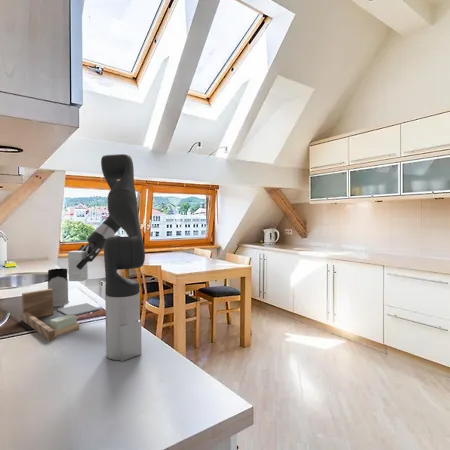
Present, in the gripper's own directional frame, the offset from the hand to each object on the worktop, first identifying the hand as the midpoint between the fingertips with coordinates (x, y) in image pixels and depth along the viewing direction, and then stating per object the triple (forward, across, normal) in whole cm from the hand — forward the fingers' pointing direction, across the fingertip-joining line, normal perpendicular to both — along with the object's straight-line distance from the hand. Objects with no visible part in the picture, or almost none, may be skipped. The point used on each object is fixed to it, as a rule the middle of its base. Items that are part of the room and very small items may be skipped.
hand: (74, 267), depth 128 cm
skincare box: (+3, 0, +5) cm, 6 cm away
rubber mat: (+12, 0, +14) cm, 18 cm away
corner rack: (+22, +11, +4) cm, 25 cm away
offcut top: (+20, +20, +3) cm, 28 cm away
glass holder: (+13, -19, +13) cm, 26 cm away
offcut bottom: (+21, +20, +5) cm, 29 cm away
